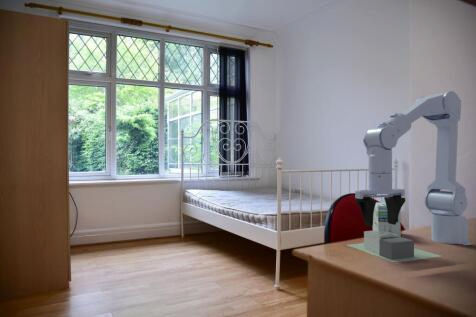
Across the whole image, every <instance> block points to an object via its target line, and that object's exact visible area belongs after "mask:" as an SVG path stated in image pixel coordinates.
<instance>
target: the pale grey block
mask: <svg viewBox="0 0 476 317" xmlns="http://www.w3.org/2000/svg"><path fill="white" fill-rule="evenodd" d="M389 238H398V234H394V233H391V232H387V231H383V230H375V231H373V230H366V231H363V243H364V249H366V250H368V251H371V252H374V253H377V254H379V239H389Z"/></svg>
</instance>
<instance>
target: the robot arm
mask: <svg viewBox="0 0 476 317" xmlns="http://www.w3.org/2000/svg"><path fill="white" fill-rule="evenodd" d="M461 111H462V100H461V98H460V97H459V96H458V94H457V93H456V92H455V91H453V90H448V91H446V92H441V93H435V94H431V95H430V94H429V95H422V96H420V97H419V98H417V99H415V102H414V103H413V104H412V105H410V106H409V108H408V109H406V110H405V111H404V112H402V113H401V112H398V113H397V112H394V113H393V112H392V113H391V114H389V118H388V119H386V120H385V121H382V122H380V123H379V125H378V126H377V127H373V128H369V129H368V130H367V132H366V133H365V135H364V137H363V139H362V142H363V145H364V147H365V149H366V154H367V157H368V188H367V189H362V190H361V189H360V190H355V191H354V194H355V195H354V198H355V203H356V204H357V206H358V207H359V210H360V212H361V215H362V218H363V222H364V226H366V227H369V228H371V227H372V228H373V214H374V208H375V204H376V202H377V201H376V200H374V199H373V198H375V199H377V198H378V199H379V198H383V199H384V203H386V207H387V218H388V224H393V225H396V222H397V218H398V215H399V212H400V213H401V209H402V207H403V205H404V204H405V202H406V196H405V195H406V192H405V191H406V190H405V189H404V188H403V189H402V188H393V148H396V147H397V144H398V140H399V139H400V138H401V137H402V136H404V135H405V134H406V133H408V132H409V131H410V130H411V128H412V123H414V122H415V121H418V119H420V118H423V119H425V120H426V121H427V122H428V123H430V124H432V125H434V126H435V127H436V128H437V131H436V148H435V151H436V153H435V171H434V173H435V175H434V180H433V181H432V182H431V183H429V184H428V185H427V186H426V193H425V196H424V199H423V200H424V206H425V208H426V209H427V210H428V213H431V214H430V216H431V219H430V220H431V223H430V224H431V226H430V227H431V231H430V232H431V240H432V241H433V242H436V243H440V244H441V243H442V244H448V245H449V244H452V245H453V244H458V245H463V246H471V245H472V243H471V242H469V221H468V219H467V217H466V216H465V215H464V213H465V211H466V210H467V207H468V198H467V194H466V187H464V186H463V185H462V184H460V183H459V182H458V181H457V162H458V161H457V159H458V137H459V136H458V135H459V134H458V133H459V122H460V121H461V114H462V113H461ZM447 190H448V191H447Z"/></svg>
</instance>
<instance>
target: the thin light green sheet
mask: <svg viewBox="0 0 476 317" xmlns="http://www.w3.org/2000/svg"><path fill="white" fill-rule="evenodd" d="M346 246H348V247H350V248H353V249H356V250H358V251H360V252H364V253H367V254H369V255H372V256H374V257H378V258H379V259H380V258H381V259H383V260H386V261H388V262H391V263H394V264H395V263H403V262H410V261H417V260H425V259H432V258H433V259H434V258H441V257H443V255H440V254H436V253H434V252H429V251H426V250H422V249H418V248H416V247H415V240H413V239H409V238H405V237H399V238H389V239H379V254H377V253H374V252H371V251H368V250H366V249H364V242H360V243H350V244H346Z"/></svg>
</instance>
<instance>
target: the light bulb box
mask: <svg viewBox="0 0 476 317" xmlns="http://www.w3.org/2000/svg"><path fill="white" fill-rule="evenodd" d="M375 230H383V231H387V232H391V233H394V234H398V238H399V237H401V234H402V233H401V232H402V230H401V211H400V212H399V215H398V218H397V222H396V225H393V224H388V218H387V207H386V202H377V201H376V204H375V208H374V214H373V227H372V231H375Z"/></svg>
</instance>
